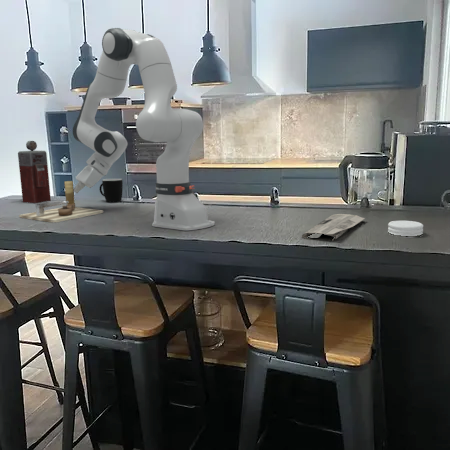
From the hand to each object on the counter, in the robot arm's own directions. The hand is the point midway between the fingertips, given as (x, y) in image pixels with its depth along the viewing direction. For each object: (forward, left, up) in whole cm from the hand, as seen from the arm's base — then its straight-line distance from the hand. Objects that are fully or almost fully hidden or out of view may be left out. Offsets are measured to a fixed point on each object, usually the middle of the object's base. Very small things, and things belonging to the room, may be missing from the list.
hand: (74, 192), depth 192 cm
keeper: (-7, +12, -7) cm, 16 cm away
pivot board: (-4, +8, -8) cm, 12 cm away
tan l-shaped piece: (-5, +6, -7) cm, 10 cm away
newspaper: (-98, -37, -9) cm, 105 cm away
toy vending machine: (+39, -2, -8) cm, 40 cm away
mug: (+12, -24, -8) cm, 29 cm away
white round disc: (-118, -44, -8) cm, 126 cm away
